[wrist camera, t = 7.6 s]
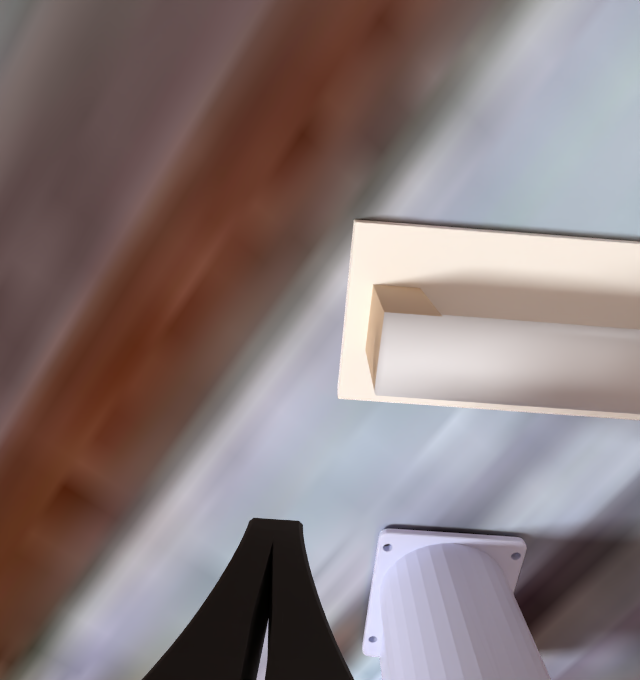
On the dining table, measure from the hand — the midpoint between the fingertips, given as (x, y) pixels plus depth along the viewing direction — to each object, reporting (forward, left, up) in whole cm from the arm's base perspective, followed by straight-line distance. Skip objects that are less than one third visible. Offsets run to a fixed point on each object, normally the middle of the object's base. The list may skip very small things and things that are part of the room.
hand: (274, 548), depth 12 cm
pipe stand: (+4, -17, -10) cm, 20 cm away
